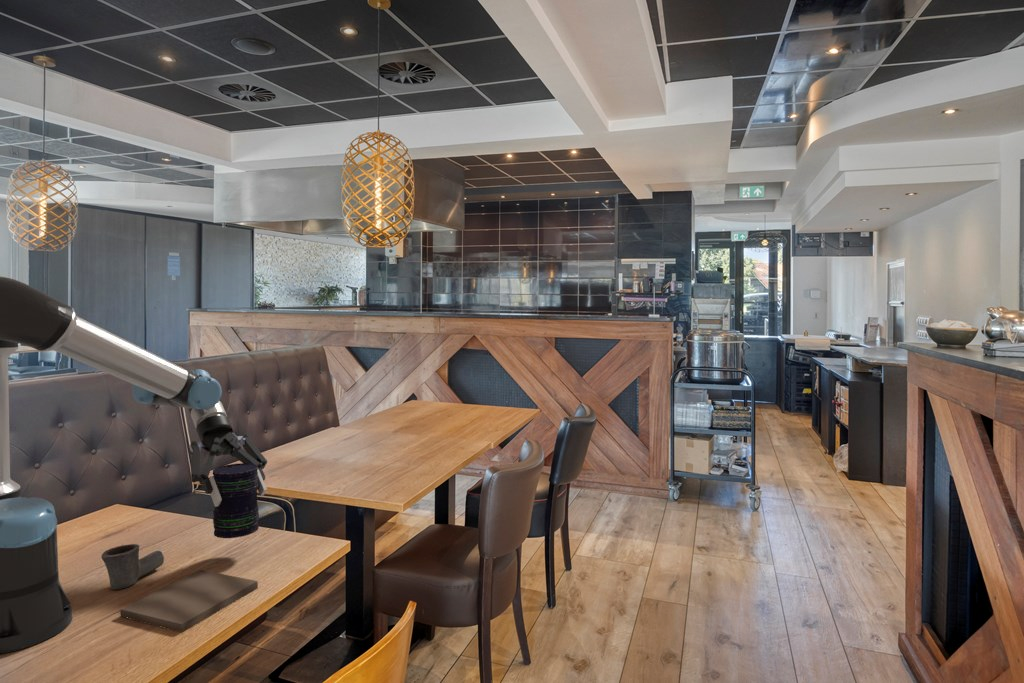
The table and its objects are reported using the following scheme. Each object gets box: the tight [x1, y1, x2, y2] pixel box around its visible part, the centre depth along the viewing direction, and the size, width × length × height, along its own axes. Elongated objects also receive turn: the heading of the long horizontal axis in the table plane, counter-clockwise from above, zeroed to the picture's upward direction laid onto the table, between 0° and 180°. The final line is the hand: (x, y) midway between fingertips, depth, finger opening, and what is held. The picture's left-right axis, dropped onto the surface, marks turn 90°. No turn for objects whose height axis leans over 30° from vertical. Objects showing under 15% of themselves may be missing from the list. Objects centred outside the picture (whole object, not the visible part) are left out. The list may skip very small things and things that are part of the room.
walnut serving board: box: [119, 569, 259, 633], centre depth 117 cm, size 18×16×2 cm
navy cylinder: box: [212, 462, 260, 539], centre depth 139 cm, size 10×10×15 cm
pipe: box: [100, 543, 165, 590], centre depth 127 cm, size 6×13×8 cm, turn 163°
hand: (241, 497), depth 137 cm, fingers closed on navy cylinder, 10 cm apart
